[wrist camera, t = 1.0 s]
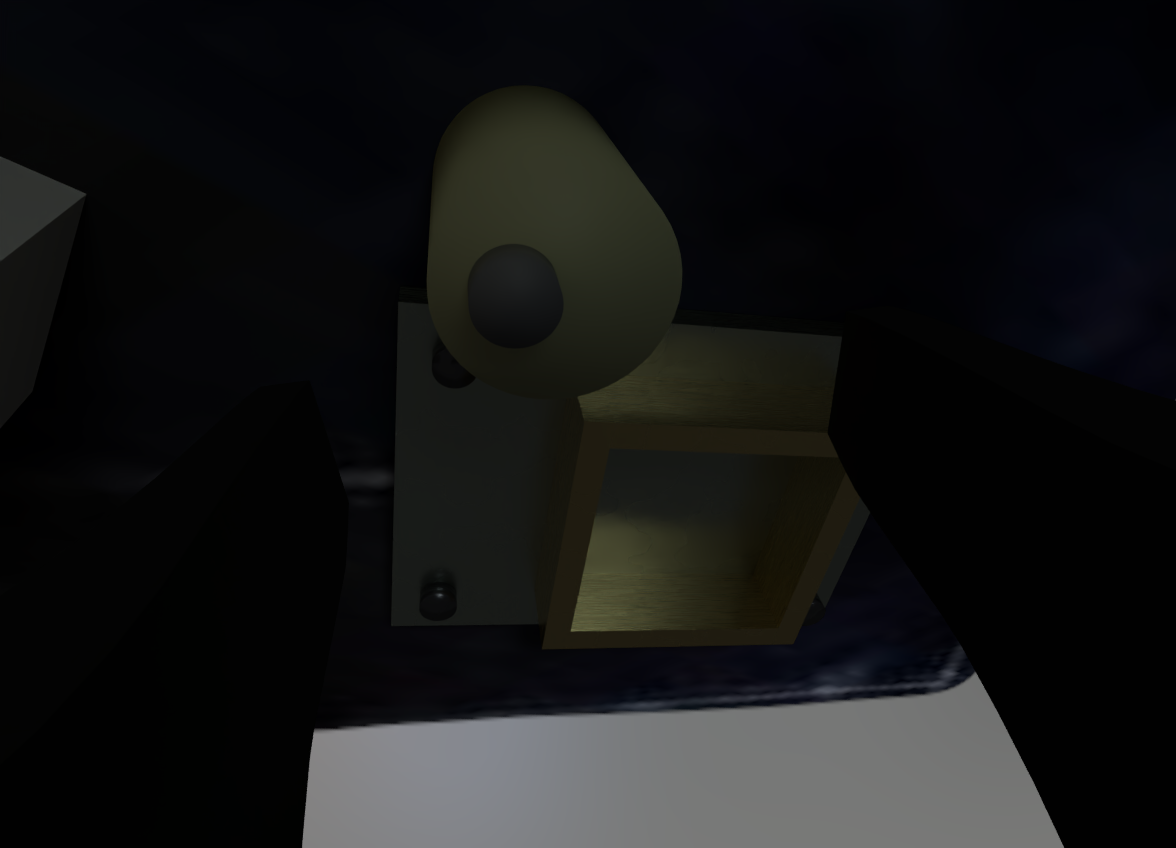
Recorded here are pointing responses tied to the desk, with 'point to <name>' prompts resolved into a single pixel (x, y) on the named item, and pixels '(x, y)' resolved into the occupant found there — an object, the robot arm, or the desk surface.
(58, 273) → the grey cube
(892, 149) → the desk surface
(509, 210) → the switch lever
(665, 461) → the mounting bracket
